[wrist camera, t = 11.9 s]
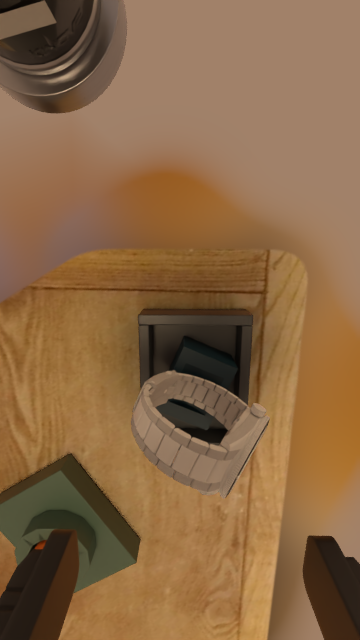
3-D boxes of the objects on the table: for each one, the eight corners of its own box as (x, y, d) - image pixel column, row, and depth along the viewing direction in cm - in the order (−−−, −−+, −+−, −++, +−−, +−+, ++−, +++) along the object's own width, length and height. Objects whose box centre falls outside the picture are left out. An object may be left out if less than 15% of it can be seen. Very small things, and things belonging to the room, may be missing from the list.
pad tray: (143, 308, 23) (137, 314, 20) (245, 309, 23) (253, 315, 20) (146, 431, 25) (142, 450, 23) (239, 432, 25) (245, 452, 22)
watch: (224, 417, 24) (255, 542, 13) (140, 383, 24) (102, 485, 13) (252, 362, 23) (311, 451, 12) (165, 326, 22) (145, 385, 12)
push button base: (-1, 493, 27) (-32, 532, 23) (70, 452, 26) (50, 486, 22) (71, 574, 29) (53, 622, 25) (140, 539, 28) (133, 585, 24)
